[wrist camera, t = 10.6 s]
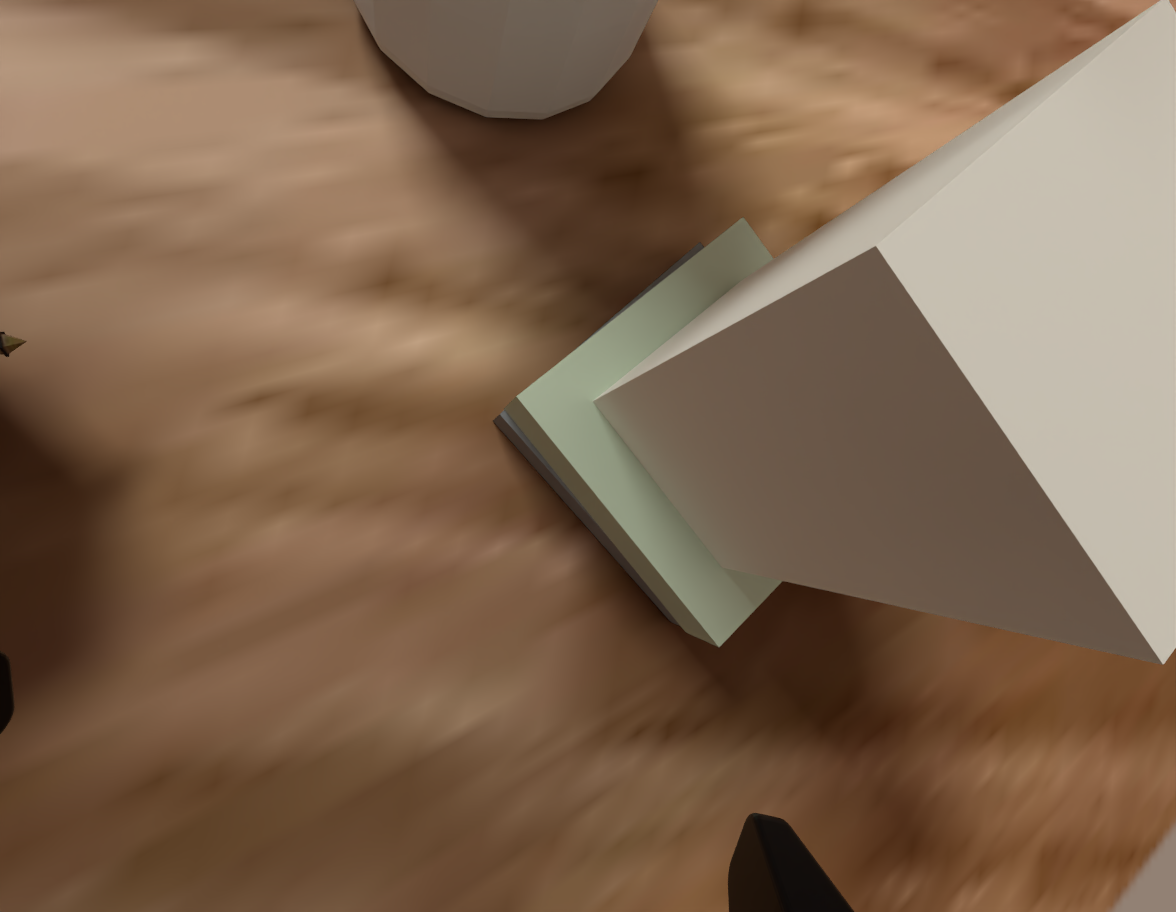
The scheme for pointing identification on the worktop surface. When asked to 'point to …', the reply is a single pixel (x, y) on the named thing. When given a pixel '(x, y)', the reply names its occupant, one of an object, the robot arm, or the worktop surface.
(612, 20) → the soap bottle
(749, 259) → the slab upper
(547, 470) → the slab lower
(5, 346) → the game die
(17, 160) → the worktop surface
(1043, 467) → the post
